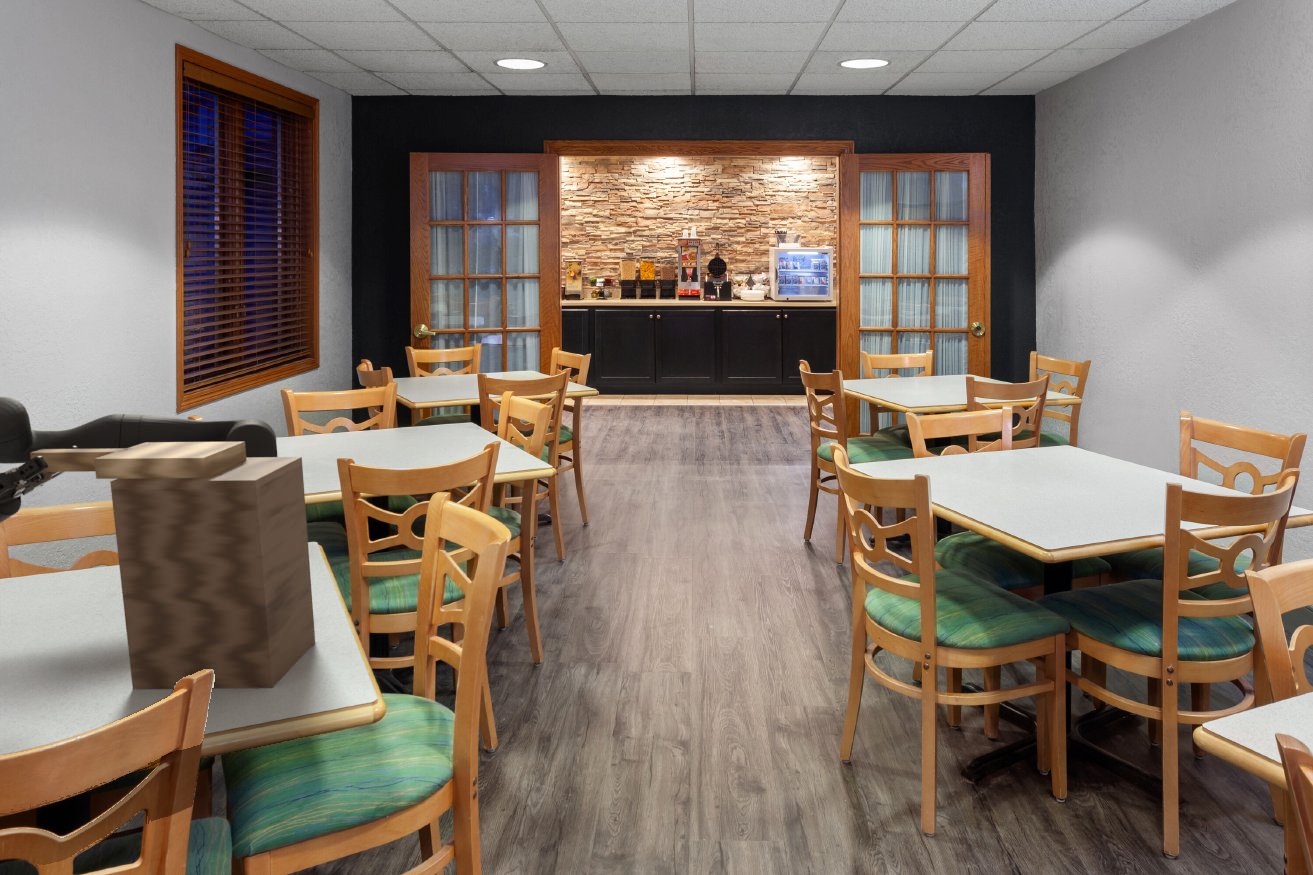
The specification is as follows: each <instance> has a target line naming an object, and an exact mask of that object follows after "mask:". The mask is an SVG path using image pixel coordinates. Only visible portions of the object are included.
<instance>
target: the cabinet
mask: <svg viewBox="0 0 1313 875" xmlns="http://www.w3.org/2000/svg"><path fill="white" fill-rule="evenodd" d="M303 467H304V466H303V457H302V456H288V457H287V456H278V457H247V458H246V460H245V461H243V462H240V463H238V464H236V465H234V466H231V467H229V468H227V469H224V470H222V471H220V472H218V473H215V474H213V475H211V476H208V477H206V478H135V479H112V480H111V481H110V492H111V501H112V510H113V518H114V519H113V520H114V529H115V537H116V547H117V555H118V556H117V557H118V565H119V574H120V583H121V590H122V592H121V593H122V602H123V603H122V604H123V612H124V620H125V621H124V622H125V629H126V639H127V649H128V658H129V666H130V667H129V668H130V674H131V684H132V690H174V689H173V688H174V686H175V685H176V682H178V681H179V680H180V679H182V678H183V677H186V676H188V675H192V674H194V673H196V672H198V671H201V670H203V669H213V670H214V674H215V682H214V688H213V689H272V688H274V687H275V686H276V684H278V682H279V681H281V679H282V678H283V677H284V676H285V675H286V674H287V673H288V672H289V671H290V670H291V668H292V667H293V666H294V665H296V663H297V662H298V661H299V660H300V659H301V658H302V656H304V655H305V653H306V652H308V650H309V649H310V648H311V647H312V646H313V645H314V644H315V643H316V636H315V635H316V632H315V622H314V621H315V619H314V608H313V607H314V605H313V595H312V580H311V578H312V577H311V565H310V564H311V563H310V554H309V553H310V552H309V550H310V549H309V537H308V525H307V523H308V522H307V513H306V511H307V510H306V509H307V508H306V496H305V494H306V493H305V482H304V471H303V469H304V468H303ZM274 685H275V686H274Z"/></svg>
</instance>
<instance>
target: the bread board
mask: <svg viewBox="0 0 1313 875" xmlns="http://www.w3.org/2000/svg"><path fill="white" fill-rule="evenodd" d="M37 456H41V457H43V459H44V460H45V462H46V463H47V465H48V468H47V469H45V470H44V471H42V472H63V473H66V472H67V473H68V472H69V473H70V472H73V473H74V472H83V473H84V472H85V473H86V472H95V479H97V480H98V479H99V480H105V479H107V480H109V479H110V480H111V479H112V480H116V479H135V478H206V477H208V476H211V475H213V474H215V473H218V472H220V471H222V470H224V469H227V468H229V467H231V466H234V465H236V464H238V463H240V462H243V461H245V460H246V448H245V442H145V443H142V444H139V445H136V446H133V447H130V448H122V449H42V450H38V451H34V452H31V453H30V457H31V459H33V458H34V457H37Z"/></svg>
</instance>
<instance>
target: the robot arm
mask: <svg viewBox="0 0 1313 875" xmlns="http://www.w3.org/2000/svg"><path fill="white" fill-rule="evenodd" d="M30 421H31V420H30V416H29V414H28V411H27V408H26V407H25V406H24V405H23V403H21V402H20V401H19V400H16V399H15V398H12V397H7V396H0V464H4V465H5V464H7V465H9V464H10V465H11V464H21V465H19V466H18V467H12V468H11V469H9V470H6V471H5V472H0V524H1V523H3V522H4V521H6V520H8V519H9V518H11V517H12V516H14V515H15V514H17V513H18V512H19V511H20V510H21V507H22V498H21V497H22V496H26V495H29V494H30V493H32V492H34V491H35V490H36V489H37V488H39V487H43V486H44V485H45V484H47V483H49V482H51V481H52V480H53V479H55V478H56V477H58V476H60V475H62V474H63V473H64V472H42V471H44V470H45V469H47V468H48V465H47V463H46V462H45V460H44V459H43V457H41V456H37V457H34V458H33V459H31V457H30V453H31V452H34V451H38V450H42V449H122V448H130V447H133V446H136V445H139V444H142V443H145V442H245V448H246V458H247V457H279V456H278V446H277V436H276V433H275V430H274V429H273V428H272V427H271V426H270V424H268V423H267V422H266V421H263V420H260V419H257V418H241V419H224V420H199V419H198V420H196V419H188V418H182V417H181V418H180V417H171V416H160V415H149V414H148V415H147V414H133V413H132V414H127V413H114V414H113V413H112V414H108V415H104V416H101V417H99V418H96V419H94V420H91V421H89V422H86V423H83V424H82V425H79V426H76V427H73V428H69V429H65V430H64V429H63V430H34V429H32V426H31V422H30Z"/></svg>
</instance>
